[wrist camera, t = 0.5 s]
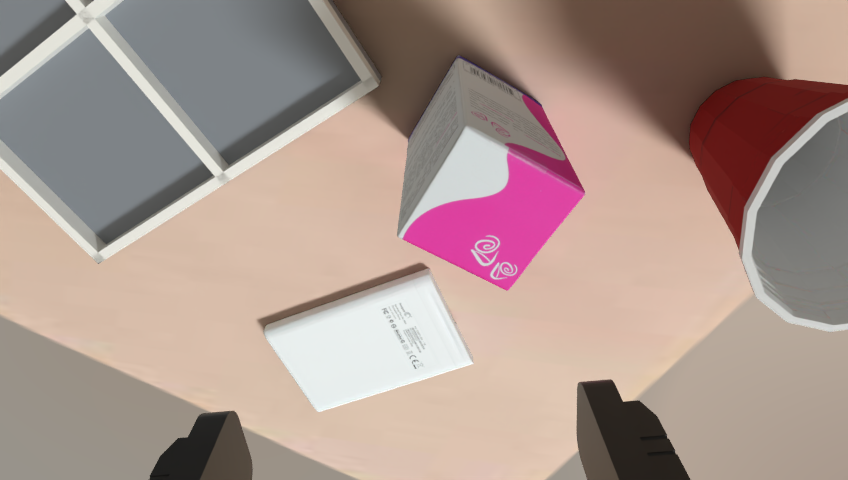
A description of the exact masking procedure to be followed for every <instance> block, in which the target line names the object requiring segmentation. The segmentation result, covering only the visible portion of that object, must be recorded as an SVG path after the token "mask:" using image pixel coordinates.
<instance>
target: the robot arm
mask: <svg viewBox="0 0 848 480" xmlns="http://www.w3.org/2000/svg"><path fill="white" fill-rule="evenodd" d="M577 442H578V449H579V454H580V458H581V461H582V464H583V467H584V470H585V474H586V477H587V480H690V478H689V476H688V474H687V472H686V471H685V468H684V466H683V465H682V463H681V461H680V459H679V457H678V455H676V454H675V449H674V448H673V446H672V444H671V442H670V440H669V439H667V434H666V432H665V430H664V429H663V427H662V425H661V423H660V421H659V419H658V417H657V416H656V415H655V414H654V413H653V412H651V411H650V410H649V409H648V408H647V407H646V406H645V405H644V404H642V403H641V402H640V401H628V402H623V401H622V399H621V397H620V394H619V392H618V390H617V388H616V386H615V384H614V382H613V381H612V380H599V381H587V382H579V383H578V387H577ZM150 480H252V460H251V456H250V453H249V449H248V446H247V443H246V440H245V437H244V433H243V431H242V427H241V424H240V421H239V418H238V415H237V413H236V412H234V411H225V412H213V413H203V414H201V415H200V416H199V417H198V418H197V420H196V422H195V424H194V426H193V428H192V430H191V432H190V434H189V436H188V437H187V438H178V439H177V440H176V441H175V442H174V443H173V444H172V445H171V446H170V447H169V448H168V449H167V450H166V451H165V452H164V453H163V454H162V455H161V456H160V458H159V460H158V461H157V464H156V465H155V467H154V469H153V471H152V473H151V475H150Z"/></svg>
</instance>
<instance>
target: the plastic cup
mask: <svg viewBox="0 0 848 480" xmlns="http://www.w3.org/2000/svg"><path fill="white" fill-rule="evenodd" d="M689 145H690V151H691V153H692V156H693V158H694V161H695V164H696V166H697V168H698V170H699V171H700V173H701V175H702V177H703V180H704V182H705V185H706V188H707V190H708V192H709V194H710V195H711V197H712V199H713V201H714V202H715V204H716V206H717V208H718V210H719V211H720V213H721V215H722V217H723V218H724V220H725V222H726V224H727V225H728V227H729V229H730V231H731V233H732V234H733V236H734V238H735V241H736V244H737V246H738V249H739V255H740V258H741V260H742V263H743V266H744V268H745V271H746V274H747V276H748V279H749V282H750V284H751V287H752V289H753V292H754V294H755V296H756V298H757V299H759V300H760V301H761V302H762V303H764V304H765V305H766V306H767V307H769V308H770V309H771V310H772V311H774V312H775V313H776V314H777V315H779V316H780V317H781V318H782V319H784V320H785V321H786V322H788V323H792V324H797V325H801V326H806V327H810V328H815V329H820V330H824V331H829V332H832V331H840V330H848V85H842V84H833V83H824V82H815V81H806V80H797V79H794V80H782V79H776V78H769V77H759V78H751V79H743V80H736V81H734V82H732V83H730V84H728V85H726V86H724V87H722V88H720V89H718V90H716V91H715V92H714V93H713V94H712V95H711V96H710V97H709V98H708V99H707V100H706V101H705V102H704V103H703V104H702V105H701V106H700V107H699V109H698V111H697V113H696V115H695V117H694V119H693V121H692V123H691V126H690V137H689Z"/></svg>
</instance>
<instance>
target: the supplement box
mask: <svg viewBox="0 0 848 480" xmlns="http://www.w3.org/2000/svg"><path fill="white" fill-rule="evenodd" d="M584 195H585V191H584V189H583V187H582V185H581V183H580V181H579V179H578V177H577V175H576V173H575V171H574V169H573V167H572V165H571V163H570V161H569V160H568V158H567V156H566V154H565V152H564V150H563V148H562V146H561V144H560V142H559V140H558V138H557V136H556V134H555V132H554V130H553V128H552V126H551V124H550V122H549V120H548V118H547V116H546V114H545V112H544V110H543V108H542V105H541V104H540V103H538V102H537V101H536V100H534V99H532V98H531V97H529V96H528V95H526V94H524V93H523V92H521V91H520V90H518V89H516V88H515V87H513V86H511V85H509V84H508V83H506V82H505V81H503V80H501V79H499V78H498V77H496V76H494V75H493V74H491V73H489V72H488V71H486V70H484V69H482V68H481V67H479V66H477V65H476V64H474V63H472V62H470V61H468V60H467V59H465V58H463V57H461V56H460V55H458V56H457V57H456V59H455V61H454V62H453V64H452V65H451V67H450V69H449V71H448V72H447V74H446V76H445V77H444V79H443V81H442V82H441V84H440V86H439V87H438V89H437V91H436V92H435V94H434V96H433V98H432V99H431V101H430V103H429V104H428V106H427V108H426V109H425V111H424V113H423V115H422V116H421V118H420V120H419V121H418V123H417V125H416V127H415V128H414V130H413V132H412V133H411V135H410V137H409V139H408V148H407V159H406V166H405V173H404V183H403V191H402V199H401V208H400V215H399V223H398V232H397V236H398V237H399V238H401V239H403V240H405V241H407V242H409V243H411V244H413V245H415V246H417V247H419V248H421V249H423V250H425V251H427V252H429V253H431V254H433V255H436V256H438V257H440V258H442V259H444V260H446V261H448V262H450V263H452V264H454V265H456V266H458V267H460V268H462V269H464V270H466V271H468V272H470V273H472V274H474V275H476V276H478V277H480V278H482V279H484V280H486V281H488V282H490V283H493V284H495V285H497V286H499V287H501V288H503V289H505V290H509V289H510V288H511V287H512V285H513V284H514V283H515V282H516V280H517V279H518V278H519V277H520V275H521V274H522V273H523V271H524V270H525V269H526V267H527V266H528V265H529V263H530V262H531V261H532V259H533V258H534V257H535V255H536V254H537V253H538V252H539V250H540V249H541V248H542V247H543V245H544V244H545V243H546V242H547V240H548V239H549V238H550V237H551V235H552V234H553V233H554V232H555V231H556V229H557V228H558V227H559V226H560V224H561V223H562V222H563V221H564V220H565V218H566V217H567V216H568V215H569V213H570V212H571V211H572V210H573V208H574V207H575V206H576V205H577V204H578V202H579V201H580V200H581V199H582V198H583V196H584Z"/></svg>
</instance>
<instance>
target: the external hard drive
mask: <svg viewBox="0 0 848 480" xmlns="http://www.w3.org/2000/svg"><path fill="white" fill-rule="evenodd" d="M264 335H265V337H266V339H267V341H268V342H269V344H270V345H271V346H272V348H273V349H274V351H275V352H276V354H277V355H278V357H279V358H280V359H281V361H282V362H283V364H284V365H285V366H286V368H287V370H288V371H289V372H290V374H291V375H292V377H293V378H294V379H295V381H296V383H297V384H298V385H299V387H300V388H301V390H302V391H303V393H304V394H305V395H306V397H307V398H308V400H309V401H310V403H311V404H312V406H313V407H314V408H315V409H316V411H317V412H321V411H324V410H327V409H331V408H334V407H337V406H340V405H343V404H346V403H350V402H353V401H356V400H359V399H362V398H366V397H369V396H372V395H375V394H378V393H382V392H385V391H388V390H391V389H395V388H398V387H401V386H404V385H407V384H411V383H414V382H417V381H420V380H423V379H427V378H430V377H433V376H436V375H439V374H442V373H445V372H449V371H452V370H455V369H458V368H462V367H465V366H468V365H471V364H474V362H473V356H472V354H471V352H470V350H469V348H468V346H467V344H466V342H465V340H464V338H463V336H462V334H461V332H460V330H459V328H458V326H457V324H456V322H454V320H453V318H452V316H451V314H450V312H449V309H448V305H447V303H446V301H445V299H444V297H443V295H442V293H441V291H440V289H439V287H438V285H437V283H436V281H435V279H434V277H433V274H432V272H431V270H430V269H429V268H427V269H424V270H421V271H418V272H416V273H413V274H410V275H407V276H404V277H401V278H398V279H395V280H393V281H390V282H387V283H384V284H381V285H378V286H375V287H373V288H370V289H367V290H364V291H361V292H358V293H355V294H352V295H350V296H347V297H344V298H341V299H338V300H335V301H333V302H330V303H327V304H324V305H321V306H318V307H315V308H312V309H310V310H307V311H304V312H301V313H298V314H296V315H293V316H290V317H287V318H284V319H281V320H278V321H276V322H273V323H270V324H267V325H266V327H265V329H264Z"/></svg>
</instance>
